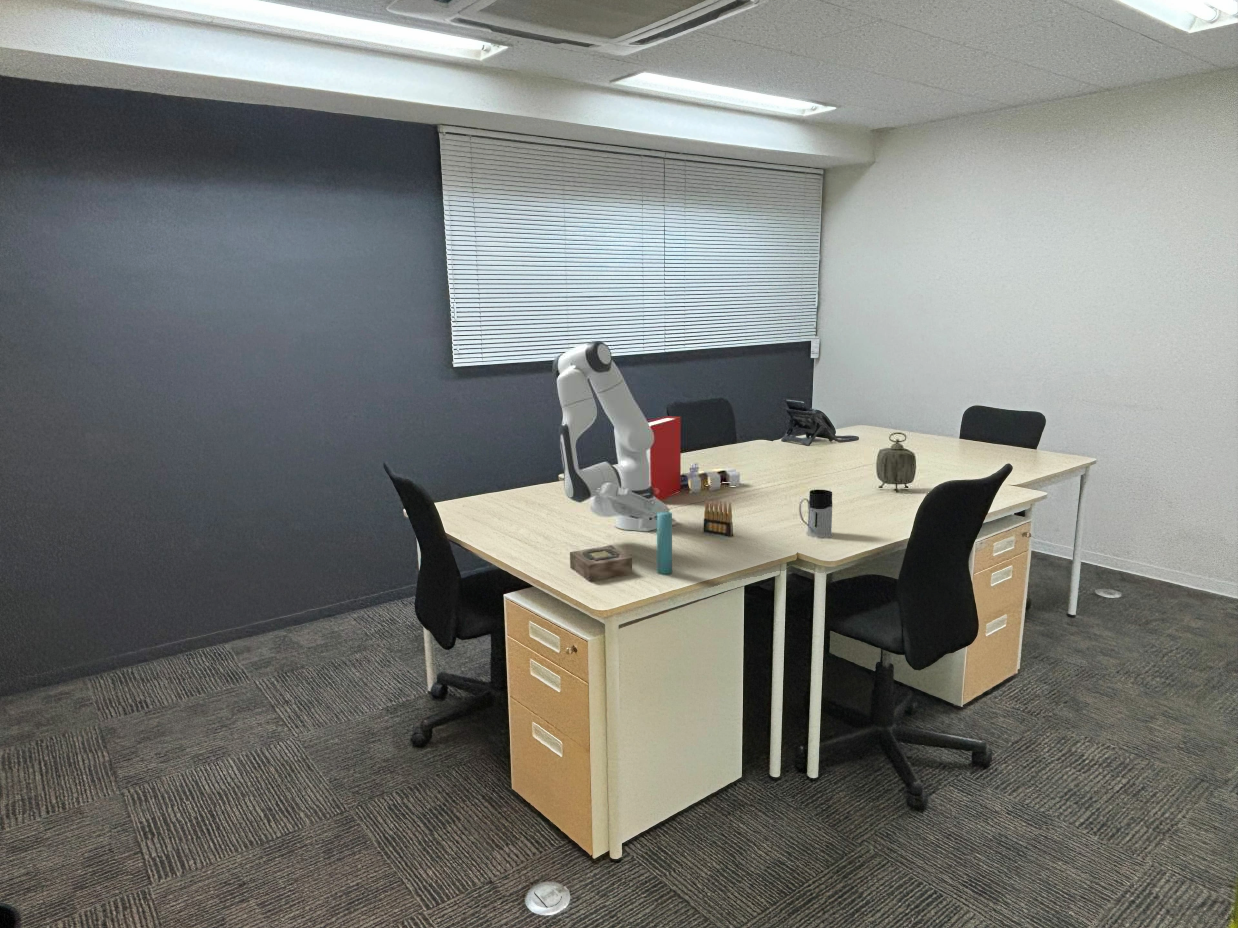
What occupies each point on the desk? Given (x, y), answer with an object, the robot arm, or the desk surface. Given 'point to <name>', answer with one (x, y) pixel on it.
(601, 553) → the tan square plate
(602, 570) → the socket block
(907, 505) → the desk surface
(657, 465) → the book
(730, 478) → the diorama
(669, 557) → the peg
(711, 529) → the ammunition clip
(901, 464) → the tabletop clock
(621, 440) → the robot arm
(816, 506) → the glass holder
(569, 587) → the desk surface
